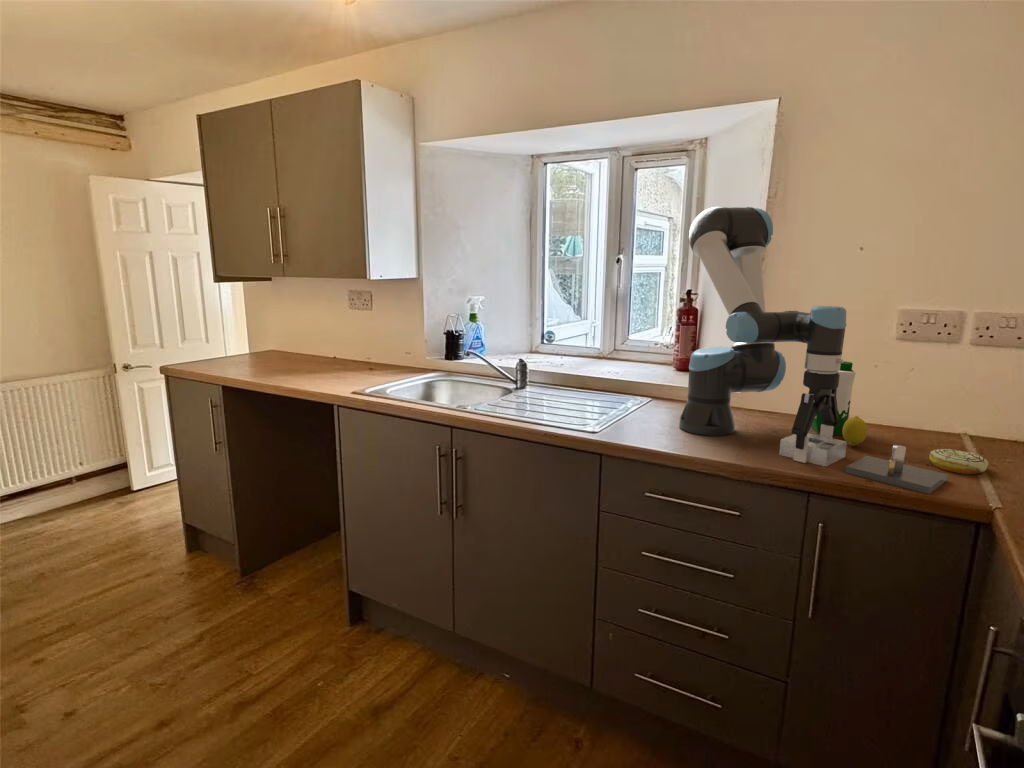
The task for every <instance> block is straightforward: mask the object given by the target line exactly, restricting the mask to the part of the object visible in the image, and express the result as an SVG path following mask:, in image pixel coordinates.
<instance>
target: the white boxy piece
mask: <svg viewBox="0 0 1024 768" xmlns="http://www.w3.org/2000/svg"><path fill="white" fill-rule="evenodd" d="M807 436H809V442H808V451H807V460H806V463H810V464H814V465H817V466H822V467H824V466H825V467H824V468H827V467H828V466H830V465H832V464H834V463H836V462H838V461H840V460H842V459H844V458H846V452H847V445H848V442H847V441H846V440H841V439H837V438H833V437H832V438H828V437H824V436H820V434H815V433H810V432H808V434H807ZM795 440H796V434H791V435H789V436H785V437H783V438H781V439H780V442H779V453H778V455H779V456H782V457H786V458H790V459H793V458H794V449H795Z"/></svg>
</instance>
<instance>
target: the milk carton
mask: <svg viewBox="0 0 1024 768" xmlns="http://www.w3.org/2000/svg"><path fill="white" fill-rule="evenodd" d="M837 373H839V375H840V376H839V385H838V388H837V392H836V399H837V409H838V418H839V420H838V426H834V428H833V435H834V436H835V435H836V436H843V432H842V431H843V426H844V424H845V422H846V421H847V420H848V419H850V417H849V416H850V410H851V409H850V408H851V400H852V394H853V393H852V392H853V385H854V383H855V377H856V371H854V370H853V362H851V361H844V360H843V363H841V366H840V370H839V371H838V372H837ZM821 424H823V421H822V417H821V414H820V412H819V413H817V414H816V416H815V418H814V421H813V423H812V425H811V427H812V428H813V429H812V428H811V429H812V430H814V431H815V432H816V433H817V435H820V430H821ZM824 425H825V424H824Z"/></svg>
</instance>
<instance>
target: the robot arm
mask: <svg viewBox="0 0 1024 768" xmlns="http://www.w3.org/2000/svg"><path fill="white" fill-rule="evenodd" d="M773 235H774V224H773V221H772V218H771V216H770V214H769V213H768V212H767V211H765V210H764V209H763V208H758V207H756V208H755V207H752V206H747V207H737V206H736V207H734V206H733V207H732V206H729V207H727V206H713V207H710V208H707V209H705V210H702V212H700V213H698V215H697V216H696V217H695V218H694V220H693V221H692V223H691V225H690V227H689V233H688V243H689V246H690V248H691V251H692V252H693V255H695V258H698V259H700V260H701V262H702V264H703V266H704V268H705V270H706V272H707V274H708V276H709V278H710V281H711V282H712V284H713V286H714V288H715V290H716V292H717V295H719V298H720V301H721V302H722V304H723V306H724V308H725V310H726V312H727V315H728V317H727V318H726V319H727V320H726V321H725V329H726V332H725V333H726V337H727V338H728V339H729V341H732V342H734V343H733V345H731V347H730V346H729V347H728V346H710V347H702V348H699V349H695V351H693V352H692V353H691V354H690V359H689V365H688V371H689V372H688V382H687V383H688V385H687V400H686V404H685V405H684V408H683V411H682V413H681V414H680V418H679V423H678V424H679V428H680V429H681V430H683V431H685V432H688V433H691V434H696V435H702V436H713V437H715V436H716V437H717V436H728V435H732V434H734V433H735V429H736V423H735V420H734V419H735V418H734V415H733V414H734V413H733V411H732V407H731V399H732V398H731V397H732V395H731V394H732V393H754V392H755V393H762V392H769V391H773V390H775V389H777V388H778V387H779V386H780V385H781V383H782V382H783V381H784V378H785V375H786V371H787V370H786V369H787V364H786V363H787V362H786V360H785V356H783V353H782V352H780V351H778V350H776V348H775V343H787V342H788V343H795V342H796V343H803V344H806V350H805V361H804V369H805V371H804V372H803V382H802V385H803V386H804V387H806V388H808V389H809V390H808V393H804V392H803V393H802V394H801V397H800V403H799V406H798V409H797V412H796V415H795V419H794V422H793V425H792V428H791V435H794V434H796V440H795V449H794V458H792V460H793V461H796V462H799V463H803V464H806V463H807V462H806V460H807V451H808V442H809V436H807V434H808V433H810V430H811V429H812V428H811V425H812V423H813V421H814V418H815V416H816V414H817V413H819V412H820V414H821V417H822V421H823V424H821V430H820V434H819V436H824V437H828V438H833V428H834V426H838V420H839V418H838V409H837V399H836V392H837V388H838V385H839V376H840V375H839V373H837V372H838V371H839V370H840V366H841V363H843V361H844V360H843V359H842V357H843V356H842V355H843V349H844V343H845V342H844V341H845V333H846V328H847V309H846V308H845V307H843V306H838V305H837V306H835V305H834V306H832V305H815V306H813V307H811V309H810V312H804V311H799V310H784V311H779V312H778V311H775V312H774V311H767V312H766V301H765V291H764V282H763V281H764V280H763V279H764V278H763V270H762V258H761V257H762V255H764V254H765V252H766V250H767V249H766V248H767V247H768V245H769V244H770V243H771V241H772V239H773V238H772V236H773ZM824 424H825V425H824Z"/></svg>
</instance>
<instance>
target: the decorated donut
mask: <svg viewBox="0 0 1024 768" xmlns="http://www.w3.org/2000/svg"><path fill="white" fill-rule="evenodd" d="M928 458H929V461H930V463H931V464H932V466H934V467H935V466H936V467H935V468H937V469H941V470H942V469H943V471H945V470H946V472H953V473H955V472H956V474H960V473H961V474H963V475H976V474H978V473H981V474H983V473H984V472H985V471H986V470H987V469H988V466H989V461H988V460H987V459H986V458H984V457H983V456H982V455H979V454H977V453H974V452H969V451H964V450H958V449H951V448H935V449H933V450H931V451H930V453H929V456H928Z"/></svg>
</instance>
